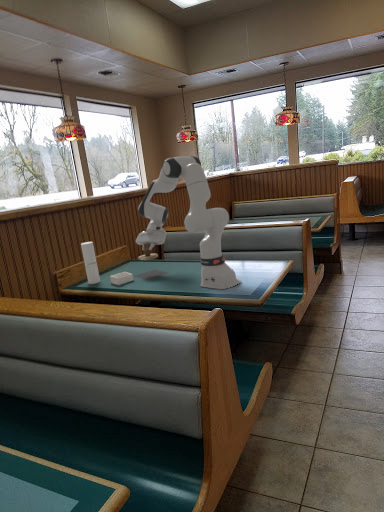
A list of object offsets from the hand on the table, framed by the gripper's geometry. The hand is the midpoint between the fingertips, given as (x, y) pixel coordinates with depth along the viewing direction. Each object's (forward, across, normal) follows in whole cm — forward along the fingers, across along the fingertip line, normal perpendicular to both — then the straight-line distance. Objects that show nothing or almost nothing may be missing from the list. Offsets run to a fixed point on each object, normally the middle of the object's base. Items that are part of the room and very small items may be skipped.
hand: (146, 249), depth 232 cm
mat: (+11, 0, +12) cm, 16 cm away
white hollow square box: (+22, -10, +1) cm, 24 cm away
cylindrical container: (+24, -30, -1) cm, 39 cm away
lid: (+3, 0, +4) cm, 5 cm away
